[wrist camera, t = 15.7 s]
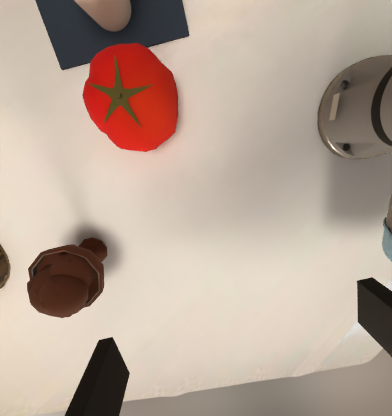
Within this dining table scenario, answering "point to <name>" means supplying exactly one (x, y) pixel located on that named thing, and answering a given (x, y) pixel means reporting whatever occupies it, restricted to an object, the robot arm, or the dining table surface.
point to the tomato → (131, 97)
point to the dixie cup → (108, 12)
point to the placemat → (101, 38)
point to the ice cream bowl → (67, 278)
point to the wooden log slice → (4, 267)
